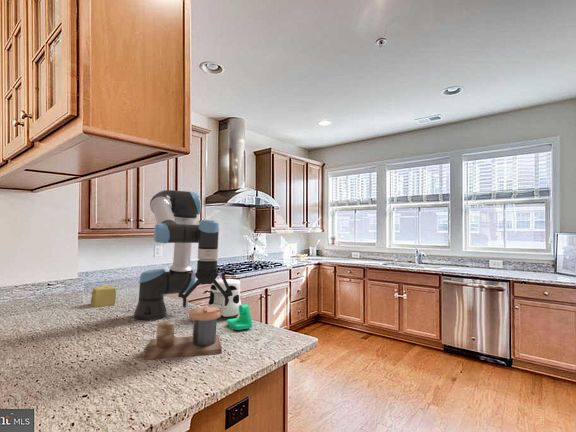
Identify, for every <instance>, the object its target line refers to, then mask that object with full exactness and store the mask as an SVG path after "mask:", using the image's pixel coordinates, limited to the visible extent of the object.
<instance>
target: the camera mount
mask: <svg viewBox="0 0 576 432" xmlns="http://www.w3.org/2000/svg"><path fill="white" fill-rule="evenodd" d="M239 313H240V314H239V315H238V317H236V318H235V317H234V318H227V320H226V321H227V323H226V324H227V325H228V326H229V328H230V329H232V330H233V331H234V330H235V331H239V330H245V329H251V328H253V321H252V317H251V316H252V315H251V311H250V306H249V305H248V303H246V304H245V303H244V304H241V305H240V306H239Z"/></svg>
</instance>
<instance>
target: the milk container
mask: <svg viewBox="0 0 576 432" xmlns="http://www.w3.org/2000/svg"><path fill="white" fill-rule="evenodd" d="M225 279H226V281H227V283H228V285H229V287H230V289H231V292H232V294H233V295H232V296H229V297H228V304H227V306H225V308H224V315H222V297H224V295H223V294H222V293H221V292H220V290H219V289H218V288H217V287H216V286H215V285H214V283H212V284H209V287H210V288H209V298H208V299H209V300H208V303H207V307H214V308H219V309H221V317H220V318H219V319H232V318H235V317H237V316H239V315H240V313H239V306H240V305H242V302H241V301H242V300H241V280H239V279H234V278H225ZM215 280H216V281H217V282H218V284H219V285H220V286H221V287H222V288H223V290H224V291H225V292H226V293H228V291H227V288H226V286H225V284H224V282H223V280H222V278H216V279H215Z"/></svg>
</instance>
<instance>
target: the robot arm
mask: <svg viewBox="0 0 576 432" xmlns="http://www.w3.org/2000/svg"><path fill="white" fill-rule="evenodd" d="M149 208H150V211H151V212H152V213H153V215H154V219H155V221H156V224H155V225H154V230H153V239H154V242H155V243H162V244H172V243H173V244H174V246H173V258H172V265H171V266H169V271H166V270H165V268H154V269H148V270H144V271H142V272H141V273H140V275H139V282H138V283H139V290H138V302H137V305H136V307H135V310H134V312H133V318H134V319H135V320H139V321H151V320H158V319H159V320H160V319H162V318H163V319H164V318H165V317H166V316H167V312H168V311H167V307H166V304H165V300H164V297H165V295H174V294H178V295H177V296H178V298H180V299H182V307H183V308H185V318H187V317H188V318H189V296H190V295H191V294H192V292H193V291H194V290H196V288H197V287H198V286H199V285H200V284H201V285H206V284H207V285H210V284H212V283H214V285H215V286H216V287H217V288H218V289H219V290H220V292H221V293H222V294H223V295H224V297H222V315H224V308H225V306H227V304H228V297H229V296H232V295H233V294H232V292H231V289H230V287H229V285H228V283H227V281H226V279H227V278H226V273H225V272H224V271H221V272H218V260H217V259H218V255H219V254H218V252H219V233H220V232H219V231H220V228H219V227H220V226H219V225H220V223H219V221H218V220H208V219H201V220H200V221H199V224H194V221H195V220H196V219H197V217H198V215H200V214H201V211H202V201H201V198H200V194H198V193H197V192H195V191H187V190H184V191H183V190H172V189H165V190H161V191H159V192H156V193H155V194H154V195H153V196H152V197H151V199H150V201H149ZM193 244H198V247H197V259H198V260H196V261H197V264H196V272H195V270H193V269H194V268H193V267H192V265H191V257H192V256H191V255H192V245H193ZM218 277H219V279H222V280H223V282H224V284H225V286H226V288H227V291H228V293H226V292H225V291H224V290H223V288H222V287H221V286H220V285H219V284H218V282H217V281H216V280H217V279H218ZM196 279H197V280H196Z"/></svg>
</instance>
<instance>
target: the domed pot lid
mask: <svg viewBox="0 0 576 432" xmlns="http://www.w3.org/2000/svg"><path fill="white" fill-rule="evenodd" d="M220 317H221V309H219V308H214V307H208V306H203V307H201V306H200V307H196V308H192V309H190V310H188V319H190V320H191V321H193V320H198V321H207V320H214V319H221V318H220Z"/></svg>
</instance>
